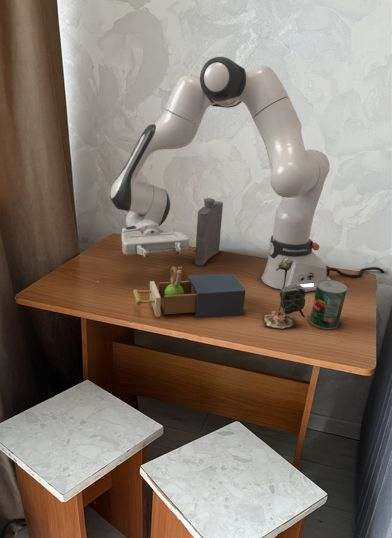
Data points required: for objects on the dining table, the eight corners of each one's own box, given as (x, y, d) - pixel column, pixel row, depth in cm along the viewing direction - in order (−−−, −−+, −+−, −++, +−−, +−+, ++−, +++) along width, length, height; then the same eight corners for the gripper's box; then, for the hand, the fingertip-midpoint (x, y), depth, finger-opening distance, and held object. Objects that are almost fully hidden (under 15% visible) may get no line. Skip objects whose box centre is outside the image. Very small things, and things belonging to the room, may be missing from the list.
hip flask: (201, 266, 165) (206, 206, 155) (190, 263, 167) (194, 204, 156) (220, 251, 178) (225, 194, 167) (209, 248, 179) (214, 192, 168)
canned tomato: (344, 325, 136) (353, 288, 131) (324, 331, 133) (332, 294, 127) (323, 312, 142) (331, 277, 136) (303, 319, 138) (310, 282, 132)
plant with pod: (302, 333, 131) (317, 263, 120) (260, 327, 133) (270, 257, 122) (303, 319, 138) (317, 251, 127) (263, 313, 139) (272, 245, 129)
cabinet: (196, 317, 135) (197, 293, 131) (186, 299, 144) (188, 275, 140) (242, 314, 138) (245, 290, 134) (230, 296, 148) (233, 273, 144)
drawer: (137, 318, 132) (137, 298, 129) (132, 300, 140) (132, 282, 137) (200, 313, 136) (201, 295, 132) (192, 297, 144) (193, 279, 141)
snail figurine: (169, 309, 134) (171, 268, 128) (161, 299, 139) (162, 259, 133) (188, 306, 136) (190, 265, 130) (179, 296, 141) (180, 256, 135)
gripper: (180, 243, 158) (196, 260, 147) (117, 248, 151) (128, 266, 140) (181, 224, 154) (197, 239, 143) (116, 228, 147) (128, 245, 137)
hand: (162, 253), depth 142 cm, fingers open, 8 cm apart
